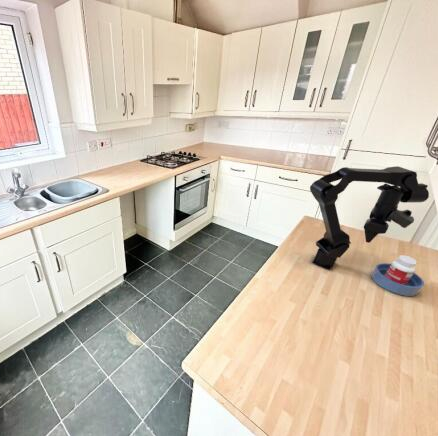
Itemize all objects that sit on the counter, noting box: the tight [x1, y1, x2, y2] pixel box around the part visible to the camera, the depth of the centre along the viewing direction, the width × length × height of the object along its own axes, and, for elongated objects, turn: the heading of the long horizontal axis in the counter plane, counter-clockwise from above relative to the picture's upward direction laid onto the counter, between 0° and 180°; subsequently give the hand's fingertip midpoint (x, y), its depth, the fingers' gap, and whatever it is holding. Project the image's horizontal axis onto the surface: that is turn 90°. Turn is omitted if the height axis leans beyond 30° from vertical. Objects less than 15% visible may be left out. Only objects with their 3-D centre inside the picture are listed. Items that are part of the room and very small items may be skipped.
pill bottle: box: [384, 254, 418, 285], centre depth 89 cm, size 6×6×11 cm
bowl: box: [370, 262, 425, 297], centre depth 91 cm, size 13×13×4 cm
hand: (369, 237), depth 96 cm, fingers open, 9 cm apart
